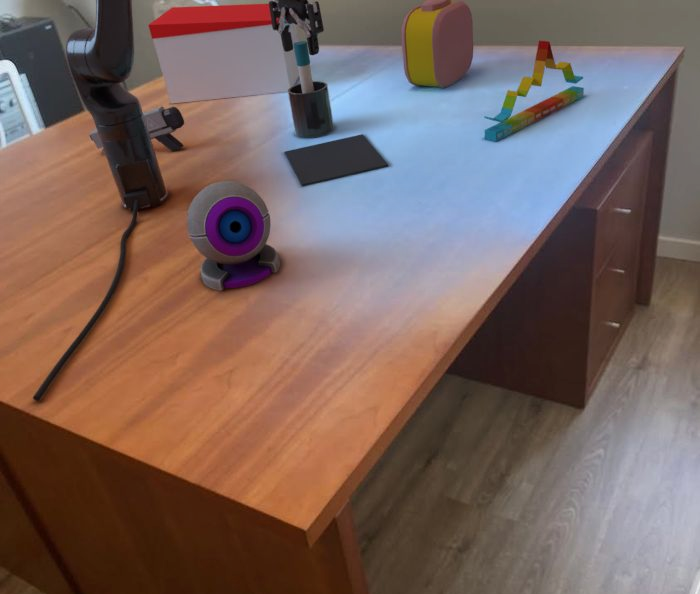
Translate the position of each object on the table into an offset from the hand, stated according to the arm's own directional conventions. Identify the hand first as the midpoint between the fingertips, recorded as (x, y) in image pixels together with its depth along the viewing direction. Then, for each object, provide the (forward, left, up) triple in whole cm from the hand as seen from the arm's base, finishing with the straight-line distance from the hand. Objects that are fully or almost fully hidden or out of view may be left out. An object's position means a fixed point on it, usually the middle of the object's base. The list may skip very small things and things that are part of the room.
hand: (301, 52), depth 159 cm
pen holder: (0, 0, -18) cm, 18 cm away
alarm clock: (+16, -37, -18) cm, 44 cm away
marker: (0, 0, -17) cm, 17 cm away
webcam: (-58, +25, -18) cm, 66 cm away
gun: (+12, +40, -18) cm, 45 cm away
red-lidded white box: (+51, +12, -18) cm, 55 cm away
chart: (-22, -45, -18) cm, 53 cm away
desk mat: (-20, 0, -18) cm, 27 cm away
